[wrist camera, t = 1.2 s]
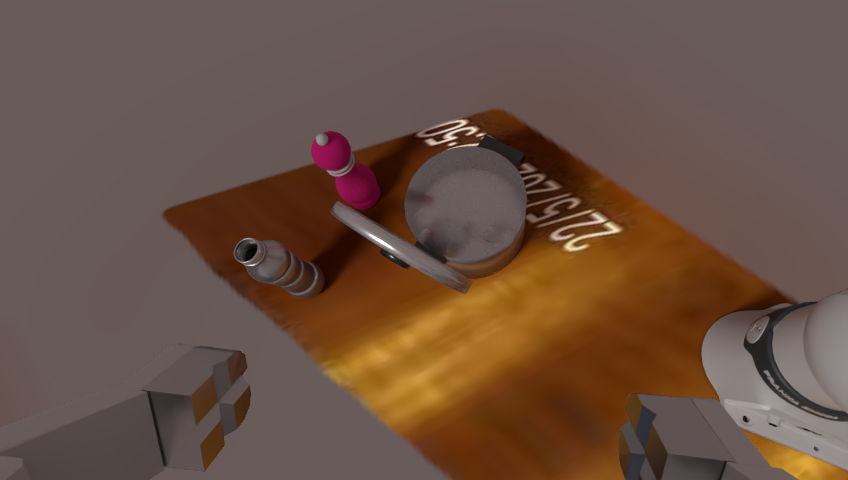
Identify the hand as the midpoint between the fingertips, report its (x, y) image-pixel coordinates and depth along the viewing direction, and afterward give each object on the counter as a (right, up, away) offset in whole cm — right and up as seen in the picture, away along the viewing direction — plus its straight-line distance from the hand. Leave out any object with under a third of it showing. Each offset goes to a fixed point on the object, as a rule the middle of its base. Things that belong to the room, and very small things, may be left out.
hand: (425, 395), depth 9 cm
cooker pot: (+8, +5, +63) cm, 64 cm away
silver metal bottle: (-20, -5, +66) cm, 69 cm away
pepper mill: (-11, +12, +70) cm, 72 cm away
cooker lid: (-2, +3, +42) cm, 42 cm away
